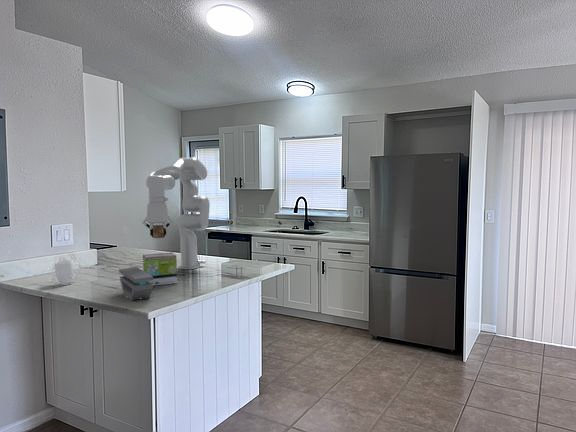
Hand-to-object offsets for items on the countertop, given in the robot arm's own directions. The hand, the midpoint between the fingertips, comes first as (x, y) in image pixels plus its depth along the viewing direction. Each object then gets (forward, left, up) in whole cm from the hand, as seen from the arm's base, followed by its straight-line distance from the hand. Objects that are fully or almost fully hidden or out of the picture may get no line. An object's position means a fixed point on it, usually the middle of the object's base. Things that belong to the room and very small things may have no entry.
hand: (158, 236), depth 221 cm
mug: (+44, -16, -24) cm, 53 cm away
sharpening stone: (+11, +22, -24) cm, 34 cm away
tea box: (0, 0, -24) cm, 24 cm away
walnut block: (0, 0, -1) cm, 1 cm away
